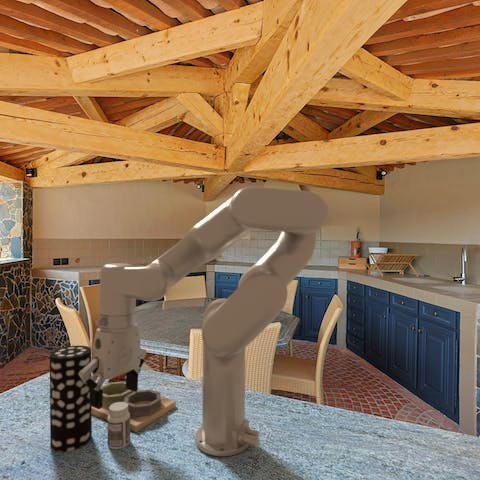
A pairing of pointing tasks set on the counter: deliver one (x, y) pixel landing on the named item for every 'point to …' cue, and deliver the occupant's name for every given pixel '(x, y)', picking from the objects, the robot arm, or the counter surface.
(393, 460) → the counter surface
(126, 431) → the pill bottle
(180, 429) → the counter surface
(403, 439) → the counter surface
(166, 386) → the counter surface
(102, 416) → the socket board
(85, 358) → the spotted tube
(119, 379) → the decorative stone
